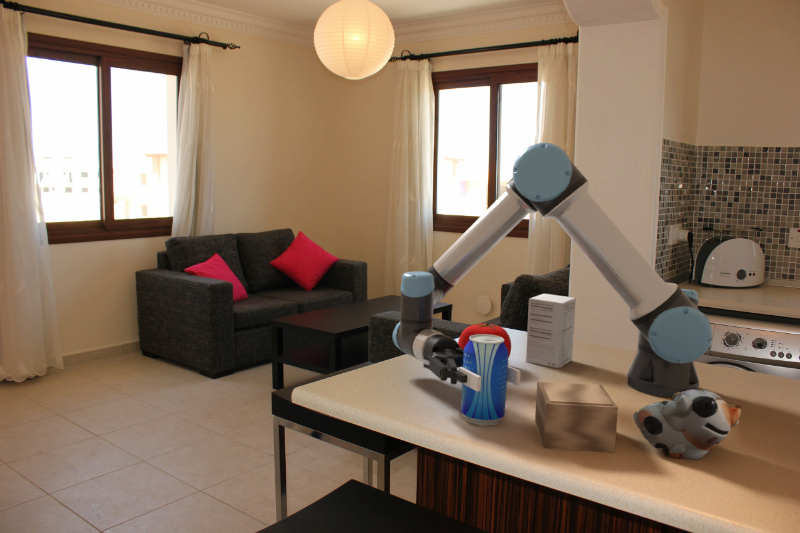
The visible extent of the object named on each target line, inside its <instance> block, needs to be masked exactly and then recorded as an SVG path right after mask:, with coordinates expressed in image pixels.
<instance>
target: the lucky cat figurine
mask: <svg viewBox="0 0 800 533" xmlns="http://www.w3.org/2000/svg"><path fill="white" fill-rule="evenodd" d="M742 408H743V406H742V405H740V404H737V403H736V404H735V403H734V404H729V403H728V402H727V401H726V400H725V399H724V398H723V397H722V396H720V395H718V394H717V393H715V392H713V391H709V390H707V389H704V390H701V389H699V390H695V389H692V390H687V391H683V392H676V393H675V394H673V397H672V400H662V401H656V402H655V401H654V402H653V403H652V404H647V405H645V406H643V407H642V408H640V409H638V411H635V412H634V413H633V415H632V418H633V420H634V423H635V424H636V427H637V428H638V429H639V431H640V432H641V435H642V437H644V439H645V440H647V442H648V443H649V444H650V445H651V446H652V447H653V448H655V449H657V450H658V449H659V450H662V451H663V453H664V455H665V456H667V457H668V458H673V459H682V460H683V459H684V460H685V459H686V460H701V459H703V457H704V456H706V455H707V454H708V453H709V451H710V449H711V448H713V447H714V446H715V445H719V444H720V443H721V442H722V441H724V440H725V439H726V438H727V437H728V436H729V433H730V430H731V429H733V428H734V427H735V426H737V425H739V422H740V420H739V419H740V417H741V415H742V413H741V409H742Z"/></svg>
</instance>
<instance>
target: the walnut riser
mask: <svg viewBox="0 0 800 533" xmlns="http://www.w3.org/2000/svg"><path fill="white" fill-rule="evenodd" d="M535 395H536V396H535V397H536V399H535V411H534V412H535V413H534V414H535V415H534V416H535V417H534V422H535V426H536V429H537V432H538V435H539V438H540V441H541V444H542V447H543V449H551V450H553V449H554V450H569V451H585V452H600V453H601V452H603V453H615V452H616V439H617V425H618V414H619V407H618V405H617V404H616V403H615V402H614V400H613V398H612V397H611V396H610V395H609V393H608V391H607V390H606V389H605V387H604V386H603V385H602V384H587V383H569V382H568V383H567V382H551V381H550V382H548V381H536V394H535Z"/></svg>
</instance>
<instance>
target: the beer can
mask: <svg viewBox="0 0 800 533" xmlns="http://www.w3.org/2000/svg"><path fill="white" fill-rule="evenodd" d="M469 339H470V340H469V342H468V343H467V345H466V346H465V348H464V360H463V368H465V369H467V370H469V371H471V372H473V373H475V374H477V375H479V376H481V391H475V390H473V389H472V388H470V387H468V386H466V385H464V384H462V383H461V385H462V386H461V404H460V410H461V411H460V412H461V414H462V415H463V417H464V419H465V421H467V422H469V423H471V424H473V425H477V426H482V427H483V426H485V427H488V426H495V425H498V424H500V422H501V421H502V420H503V418H504V417H505V416H506V403H507V401H506V400H507V383H508V381H507V369H508V366H509V358H508V349H507V347H506V346H505V344H504V339H503V338H502V337H499V336H495V335H488V334H477V335H472V336H470V337H469Z"/></svg>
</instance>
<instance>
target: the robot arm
mask: <svg viewBox="0 0 800 533" xmlns="http://www.w3.org/2000/svg"><path fill="white" fill-rule="evenodd" d="M589 183H590V182H589V180H588V179H587V178H586V177H585V176H584V174H583V173H582V172H581V171H580V170H579V169H578V167H577V166H576V165H575V163H573V162H572V160H571V159H570V157H569V155H568V154H567V152H566V151H564V149H563V148H562V147H560V146H558V145H556V144H554V143H549V142H538V143H535V144H532V145H530V146H528V147H527V148H525V149H524V150H522V152H520V153H519V155H518V156H517V158H516V159H515V161H514V165H513V168H512V178H510V180H509V181H508V182H507V183H506V184H505V188H506V189H505V191H504V192H503V193H502V194H501V195H500V196H499V197H498V198H497V199H496V200H495V201H494V202H493V203H492V204H491V205H490V206H489V207H488V208H487V209H486V210H485V211H484V212H483V214H481V215H480V216H479V217H478V218H477V220H475V221H474V223H472V225H471V226H469V228H467V230H465V232H463V233H462V234H461V236H459V238H458V239H457V240H456V241H454V243H453V244H452V245H450V247H449V248H448V249H447V250H446V251H445V252H444V253H443V254H442V255H441V256H440V257H438V259H437V260H436V261H435V262H434V263H433V264H432V265H431V266H430V267H429V268H428V269H427V270H426V271H417V270H416V271H407V272H404V273H403V274H402V275H401V282H400V284H401V285H400V288H399V289H400V317H399V318H400V319H399V322H398V323H397V324H396V325H395V327H394V329H393V332H392V342H393V344H394V345H395V347H397V348H398V349H399V350H400V351H401V352H403V353H404V354H405V355H408V356H411V357H413V358H414V359H416V360H419V361H420V362H422V363H423V364H422V366H423V368H424V369H428V370H429V371H431V372H432V373H433V374H434V375H435V376H436V377H437V378H438V379H439V380H440V381H443V382H445V381H448V379H450V384H451V385H457V382H459V383H461V385H462V384H464V385H466V386H468V387H470V388H472V389H473V390H475V391H481V376H479V375H477V374H475V373H473V372H471V371H469V370H467V369H465V368H463V360H464V349H462V348H460V346H459V344H458V341H457V340H456V339H454V338H452V337H450V336H448V335H445V334H444V333H443V332H440V331H438V330H434V329H433V325H434V322H433V321H434V305H436V304H437V303H439V302H441V301H442V300H443V299H444V298H445V297H446V296H447V294H448V293H449V292H450V291H451V290H452V289H453V288H454V287H455V286H456V285H457V284H458V283H459V282H460V281H462V279H463V278H464V277H465V276H467V274H468V273H469V272H470V271H471V270H472V269H474V267H476V266H477V264H479V263H480V262H481V261H482V260H483V259H484V258H485V257H486V256H487V254H489V253H490V252H491V251H492V250H493V249H494V248H495V247H496V246H497V245H498V244H499V243H500V242H501V241H502V240H503V239H505V237H506V236H507V235H508V234H509V233H511V231H512V230H513V229H514V228H515V227H516V226H517V225H518V224H520V222H522V221H523V220H524V219H525V218H526V217H527V215H529V214H535V213H537V212H539V214H540V215H541V216H542V217H543V218H544V219H549V220H555V221H556V223H557V224H558V225H559V226H560V227H561V229H563V230H564V232H565V234H567V235H568V236H569V237H570V239H571V240H572V241H573V242H574V244H575V245H576V246H577V247H578V249H580V251H581V252H582V253H583V254H584V256H586V258H587V259H588V260H589V262H591V264H592V265H593V266H594V267H595V268H596V269H597V271H598V272H599V273H600V274H601V275H602V277H603V278H604V279H605V280H606V282H608V283H609V285H610V286H611V287H612V288H613V290H614V291H615V292H616V293H617V294H618V295H619V297H620V298H621V299H622V300H623V302H624V303H626V305H627V306H628V308H629V313H628V319H629V321H631V323H632V324H633V325H634V326H635V327H636V328H637V330H638V341H637V351H636V354H635V356H634V358H633V360H632V363H631V365H630V367H629V369H628V371H627V378H626V379H627V380H626V383H627V385H628V386H629V387H630V388H632V389H634V390H637V391H638V392H642V393H645V394H649V395H653V396H657V397H658V396H659V397H665V398H673V394H675V393H676V392H683V391H687V390H692V389H695V390H700V381H699V380H700V379H699V376H698V374H697V373H698V372H697V369H696V365H695V361H696V360H697V359H700V358H702V356H704V355H705V353H706V352H707V351H708V350H709V349H710V347H711V344H712V340H713V329H712V325H711V321H710V320H709V318H708V317H707V315H706V314H705V313H704V312H701V310H699V308H698V307H699V306H698V305H699V303H700V301H699V294H698V291H696V290H694V289H685V288H681V287H680V286H679V285H678V284H677V283H673V282H666V281H665V280H664V279H662V277H661V276H660V274H658V273H657V271H656V270H655V269H654V268H653V267H652V266H651V264H650V263H649V262H648V261H647V260H646V258H645V257H644V256H643V255H642V254H641V253H640V252H639V250H638V249H637V248H636V247H635V245H634V244H632V242H631V241H630V240H629V239H628V238H627V236H626V235H625V234H624V233H623V232H622V231H621V230H620V228H619V227H618V226H617V224H615V222H614V221H613V220H612V219H611V218H610V217H609V216H608V214H607V212H605V211H604V209H603V208H602V206H600V204H598V203H597V201H596V200H595V199H594V198H593V196H591V194H590V193H589ZM508 382H509V383H511V384H513V385H515V386H520V383H521V370H519V369H517V368H514V367H512V366H511V365H508V369H507V383H508Z"/></svg>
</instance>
